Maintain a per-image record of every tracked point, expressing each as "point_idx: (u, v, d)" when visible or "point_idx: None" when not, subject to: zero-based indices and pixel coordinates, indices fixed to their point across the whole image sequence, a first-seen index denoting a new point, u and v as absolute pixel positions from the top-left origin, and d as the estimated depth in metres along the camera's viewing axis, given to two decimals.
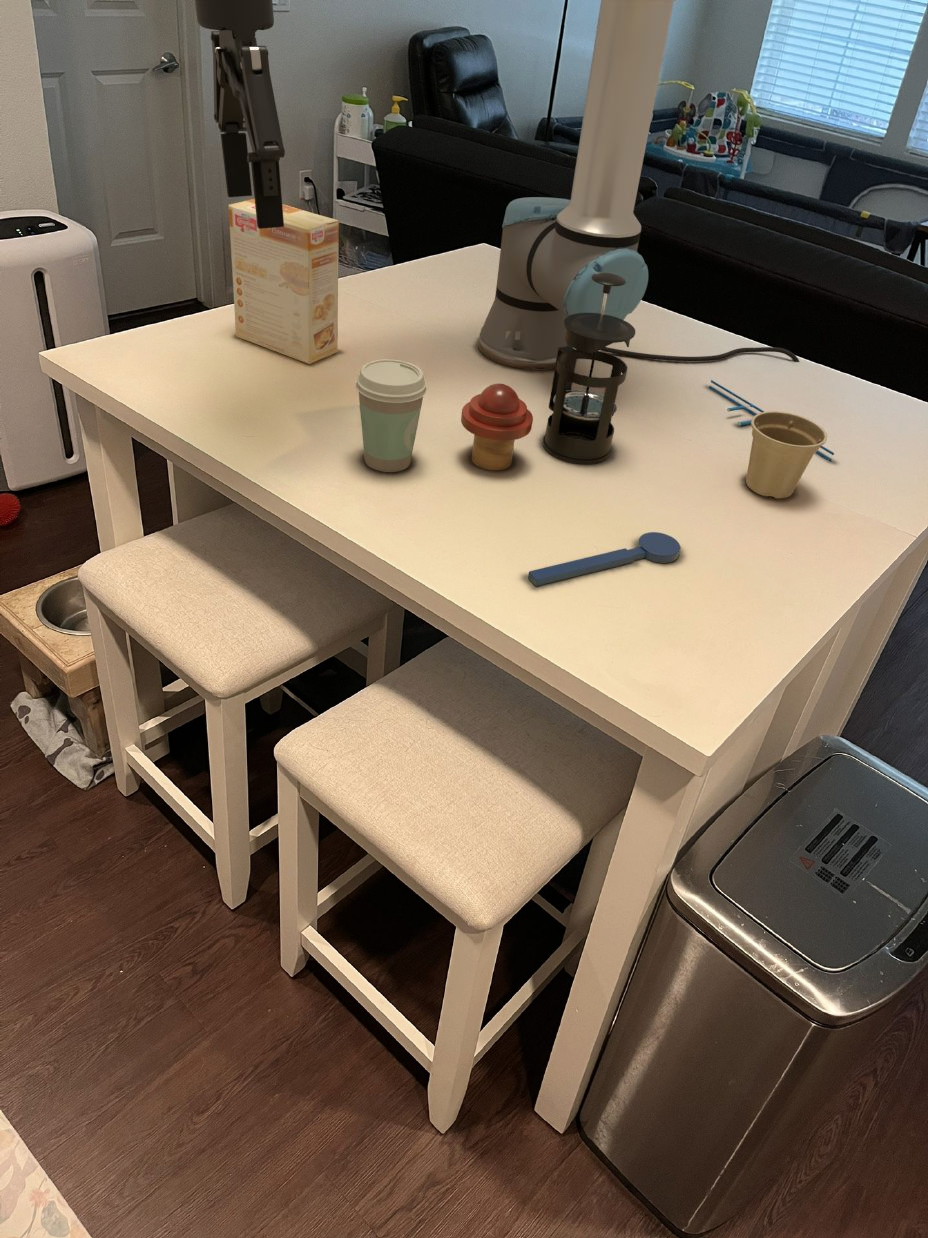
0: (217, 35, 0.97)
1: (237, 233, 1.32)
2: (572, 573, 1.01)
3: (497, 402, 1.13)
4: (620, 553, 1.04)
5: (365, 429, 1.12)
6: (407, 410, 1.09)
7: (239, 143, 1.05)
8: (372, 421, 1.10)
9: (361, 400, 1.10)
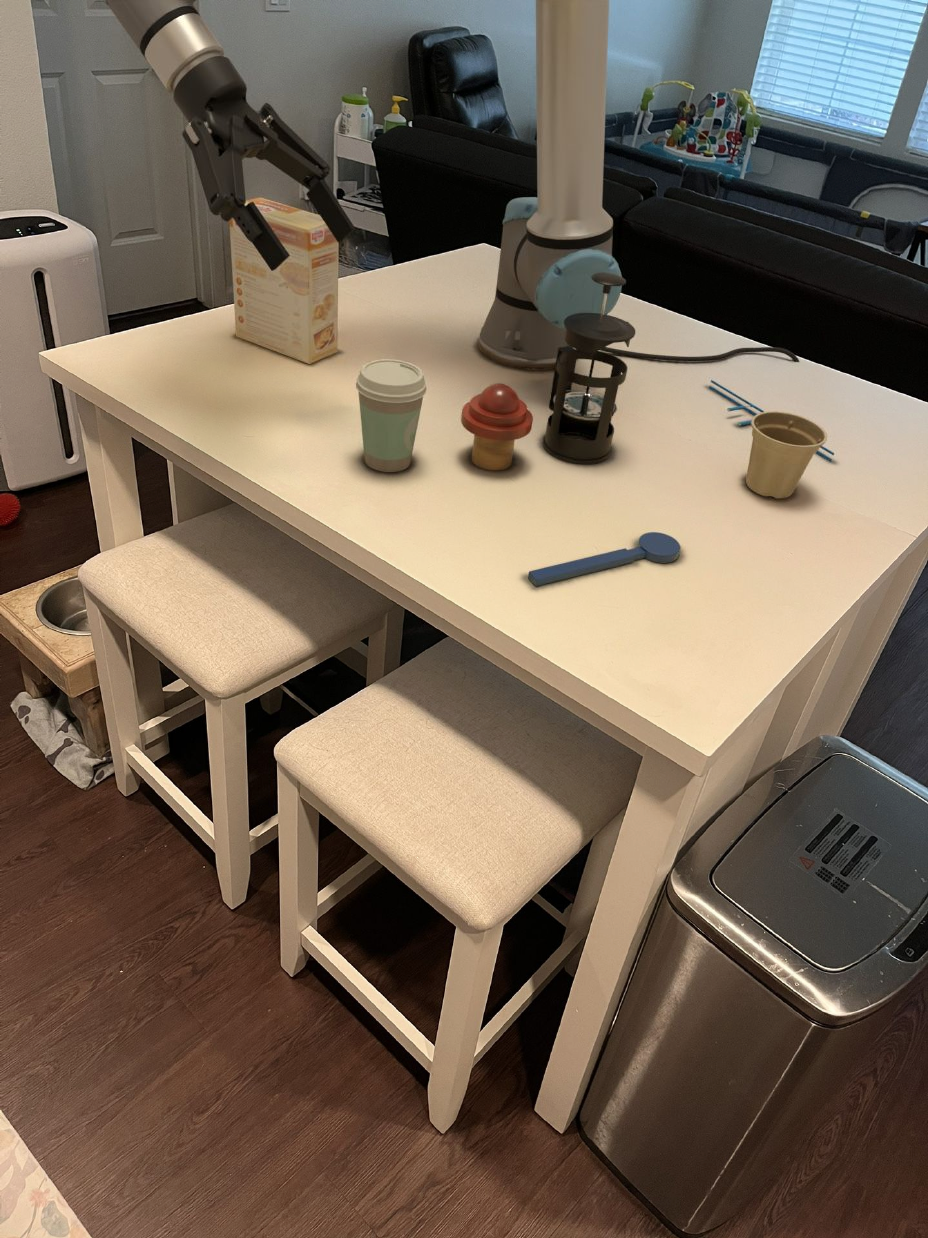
0: None
1: (237, 233, 1.32)
2: (572, 573, 1.01)
3: (497, 402, 1.13)
4: (620, 553, 1.04)
5: (365, 429, 1.12)
6: (407, 410, 1.09)
7: (319, 191, 1.09)
8: (372, 421, 1.10)
9: (361, 400, 1.10)
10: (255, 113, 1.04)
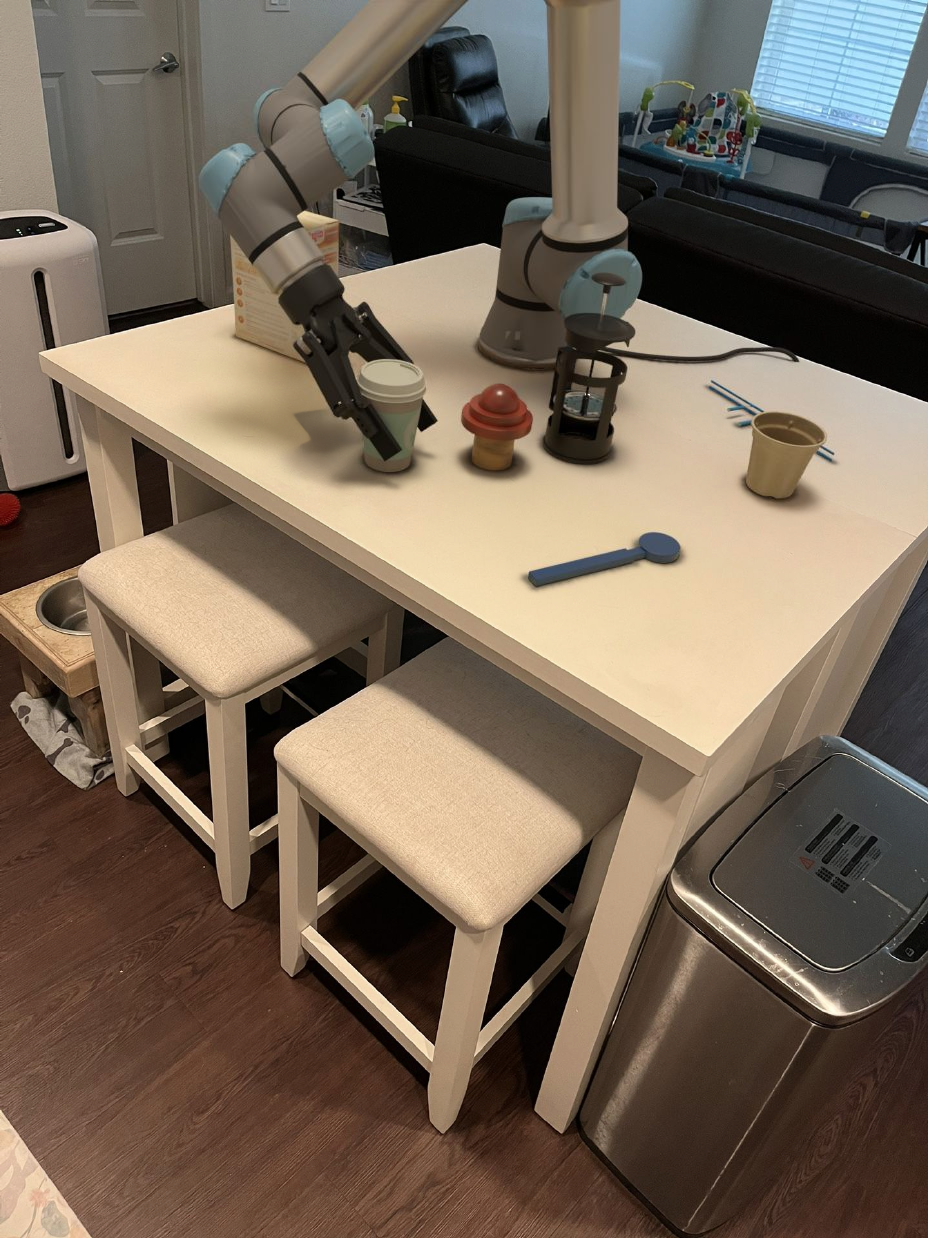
0: None
1: None
2: (572, 573, 1.01)
3: (497, 402, 1.13)
4: (620, 553, 1.04)
5: None
6: (407, 410, 1.09)
7: None
8: None
9: None
10: (351, 309, 1.12)
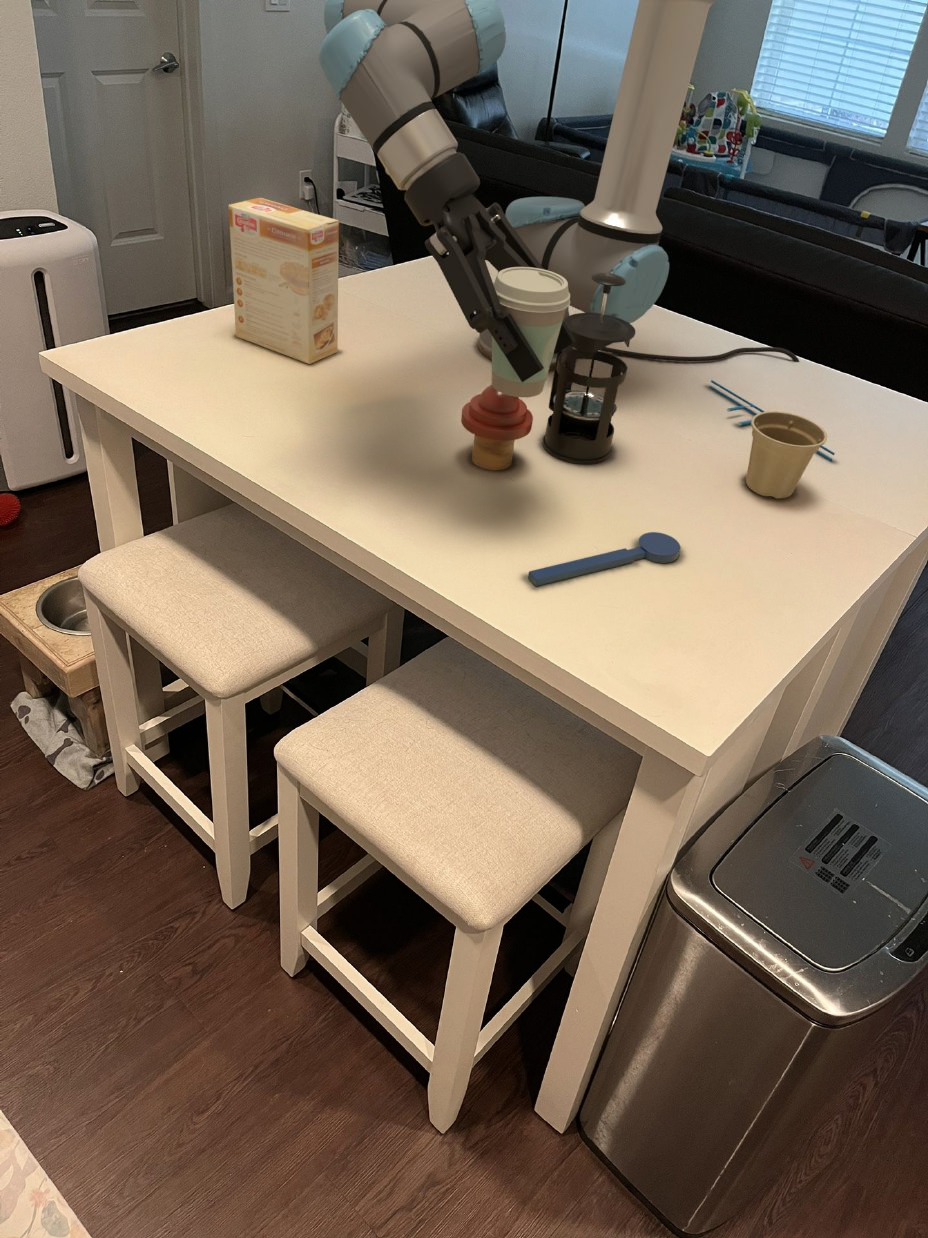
0: None
1: (237, 233, 1.32)
2: (572, 573, 1.01)
3: (497, 402, 1.13)
4: (620, 553, 1.04)
5: (498, 347, 0.99)
6: (550, 322, 0.96)
7: None
8: None
9: None
10: (484, 209, 0.98)
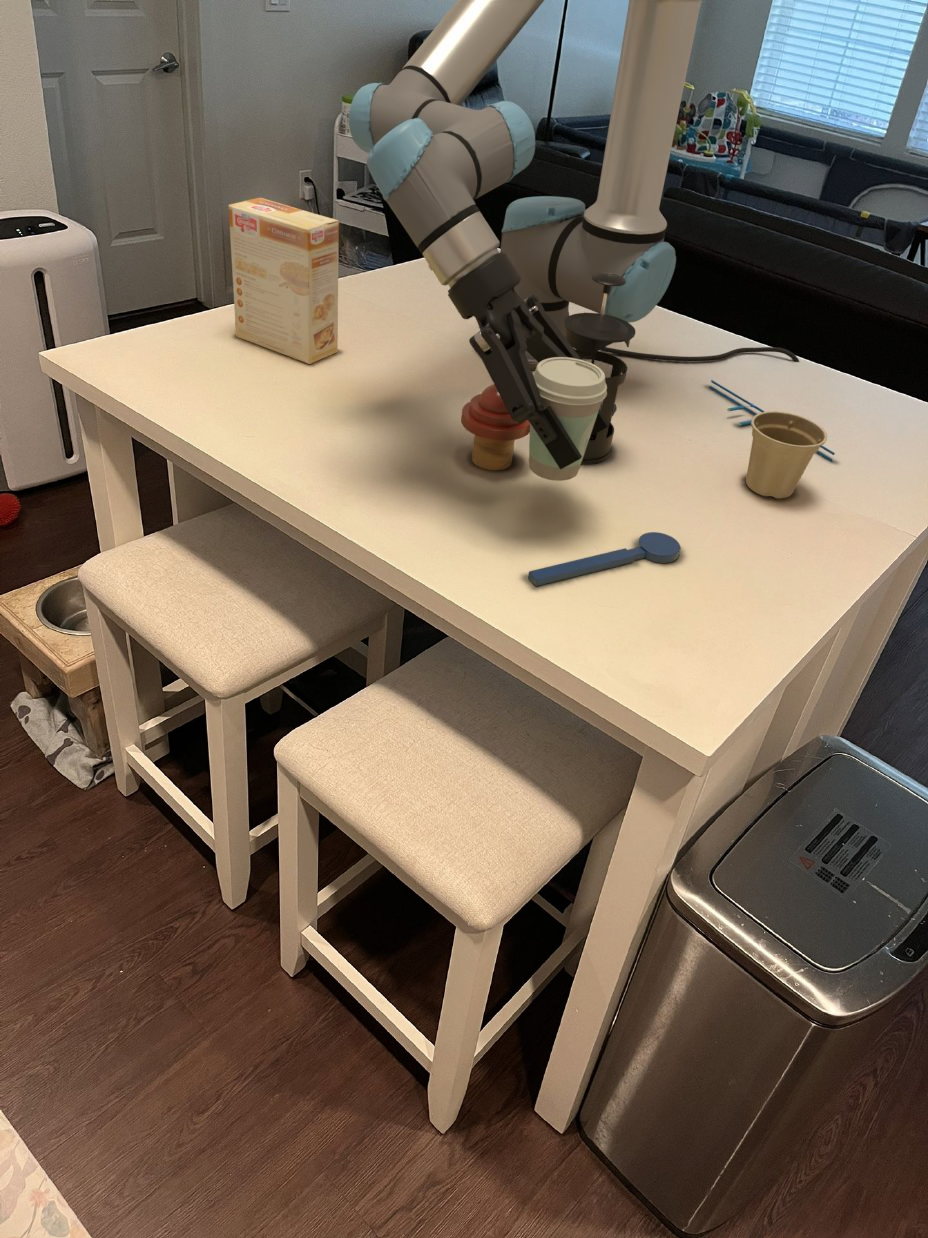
0: None
1: (237, 233, 1.32)
2: (572, 573, 1.01)
3: (497, 402, 1.13)
4: (620, 553, 1.04)
5: (537, 434, 1.02)
6: (588, 413, 1.00)
7: None
8: None
9: None
10: (523, 302, 1.02)
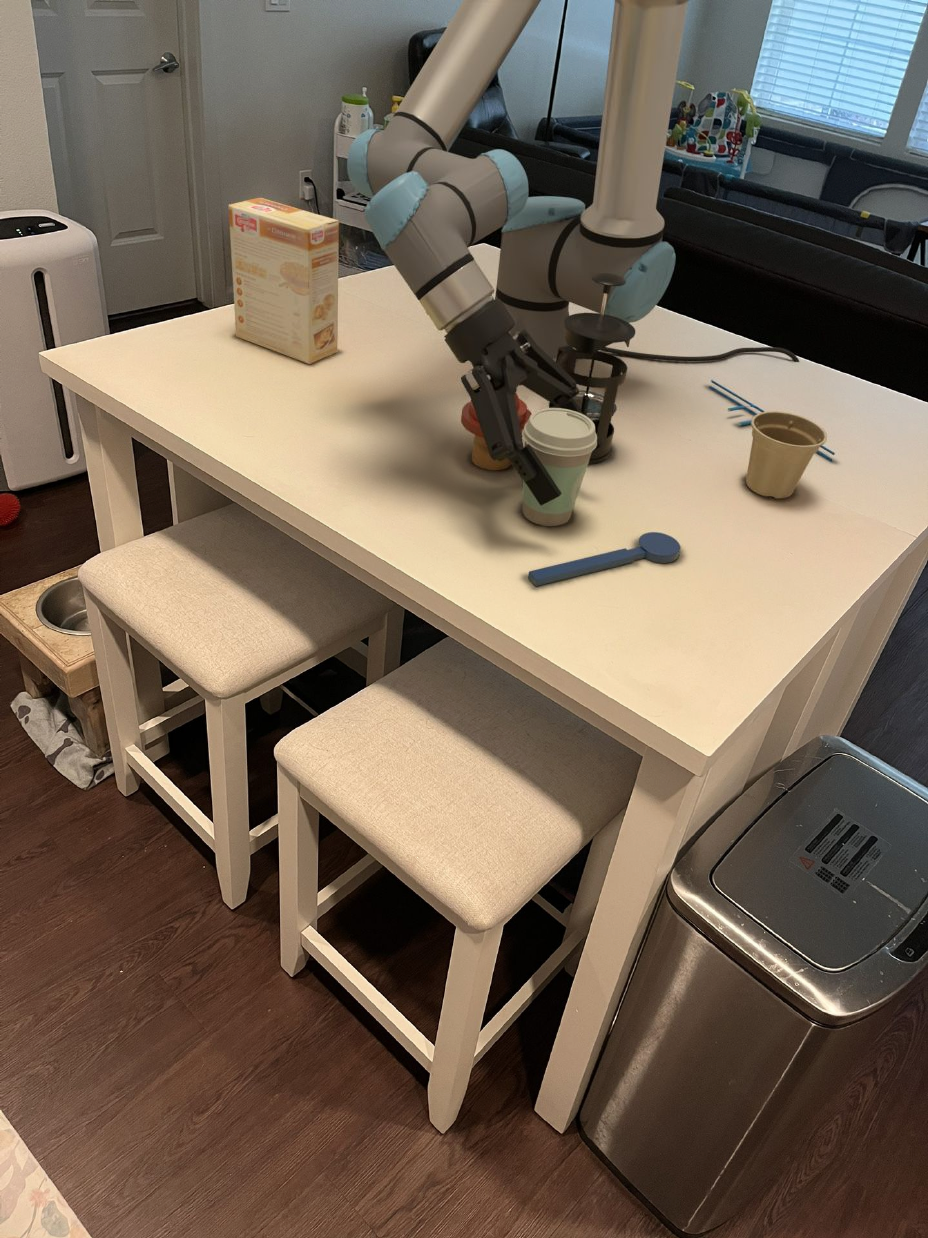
0: None
1: (237, 233, 1.32)
2: (572, 573, 1.01)
3: None
4: (620, 553, 1.04)
5: None
6: (579, 463, 1.03)
7: None
8: None
9: None
10: (517, 344, 1.05)
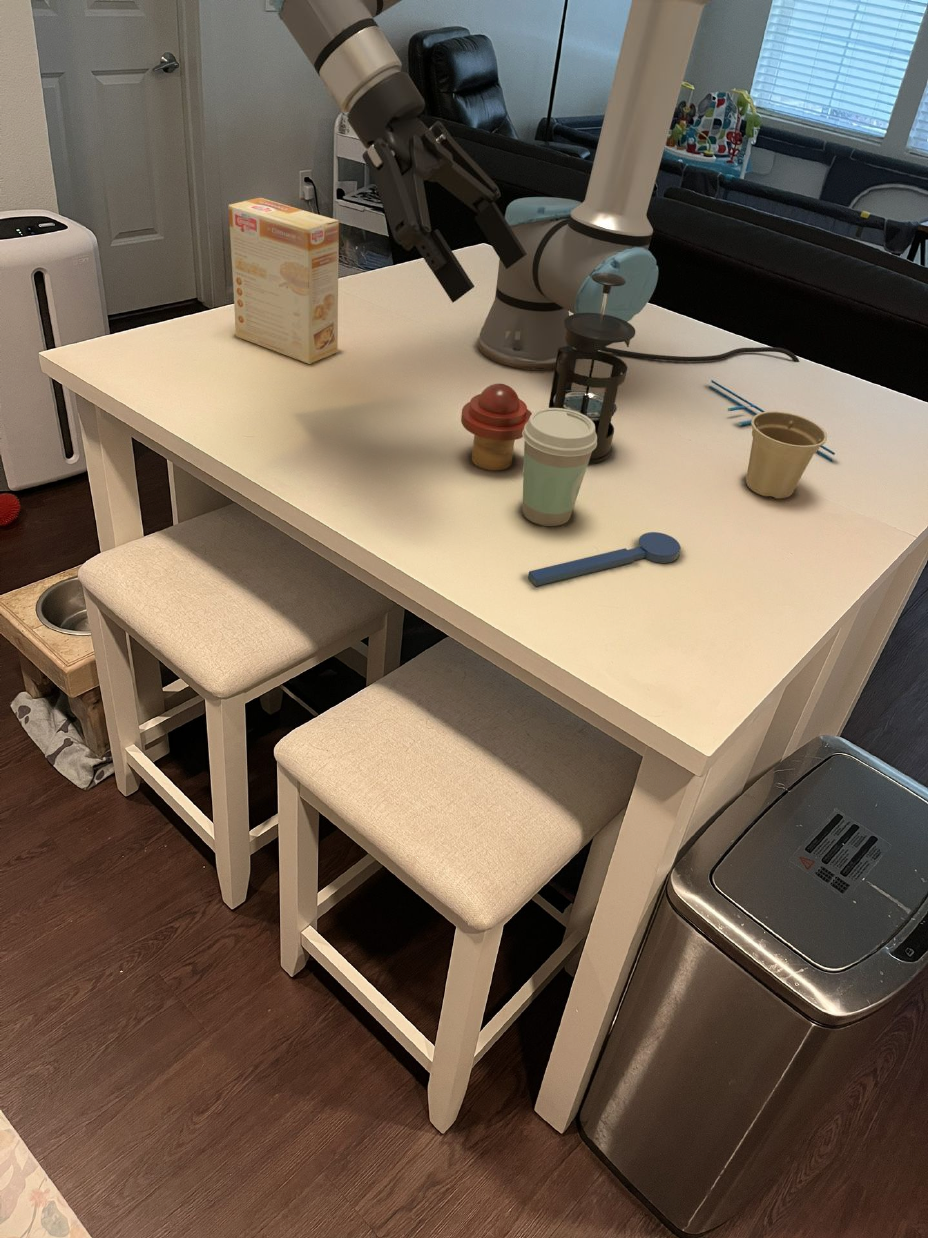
0: None
1: (237, 233, 1.32)
2: (572, 573, 1.01)
3: (497, 402, 1.13)
4: (620, 553, 1.04)
5: (530, 482, 1.06)
6: (579, 463, 1.03)
7: (490, 214, 1.01)
8: (540, 475, 1.04)
9: (529, 452, 1.04)
10: (429, 132, 0.96)
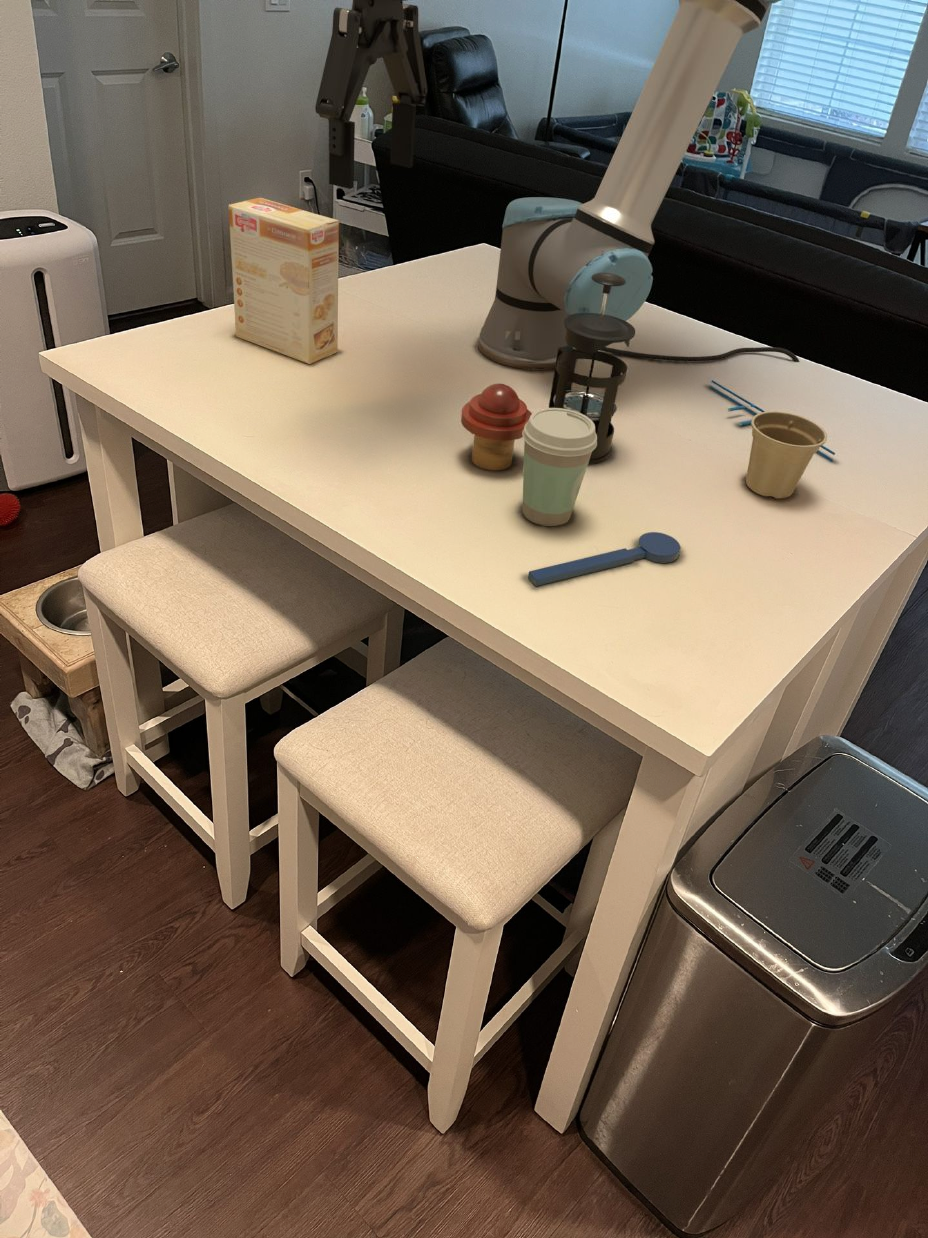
0: None
1: (237, 233, 1.32)
2: (572, 573, 1.01)
3: (497, 402, 1.13)
4: (620, 553, 1.04)
5: (530, 482, 1.06)
6: (579, 463, 1.03)
7: (406, 114, 1.08)
8: (540, 475, 1.04)
9: (529, 452, 1.04)
10: (402, 16, 1.00)
